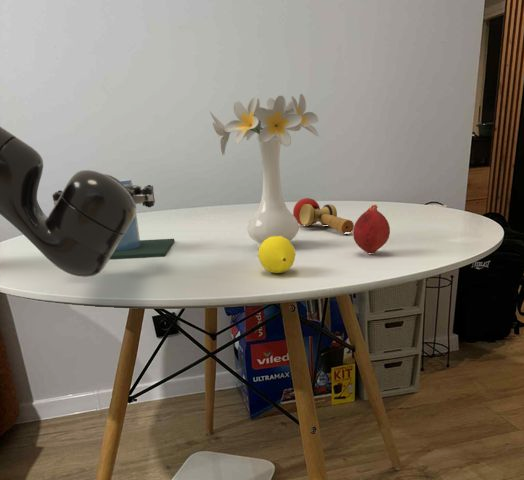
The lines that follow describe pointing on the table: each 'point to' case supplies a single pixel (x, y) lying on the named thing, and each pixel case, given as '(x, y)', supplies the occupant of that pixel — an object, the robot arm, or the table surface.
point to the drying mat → (146, 249)
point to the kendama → (320, 215)
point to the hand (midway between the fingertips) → (108, 193)
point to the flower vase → (269, 157)
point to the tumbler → (129, 230)
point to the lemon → (276, 254)
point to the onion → (371, 230)
